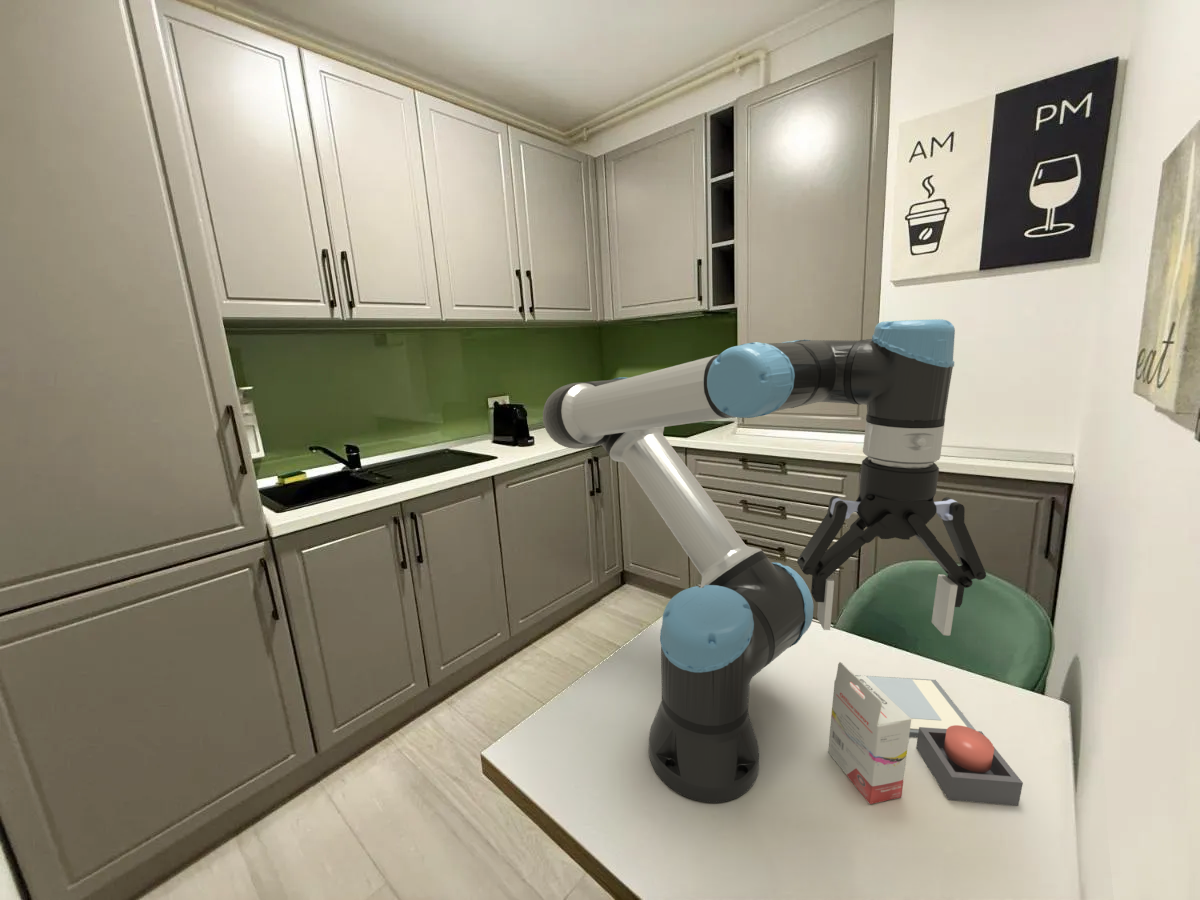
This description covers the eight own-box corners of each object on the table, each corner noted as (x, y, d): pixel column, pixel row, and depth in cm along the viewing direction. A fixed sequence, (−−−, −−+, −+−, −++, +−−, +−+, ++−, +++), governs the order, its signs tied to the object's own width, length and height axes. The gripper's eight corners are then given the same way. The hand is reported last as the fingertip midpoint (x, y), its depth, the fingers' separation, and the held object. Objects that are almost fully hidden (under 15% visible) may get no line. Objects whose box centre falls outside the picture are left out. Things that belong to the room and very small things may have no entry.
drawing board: (869, 733, 72) (869, 727, 71) (840, 678, 83) (840, 672, 83) (980, 741, 70) (981, 735, 69) (935, 683, 81) (935, 678, 81)
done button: (957, 771, 62) (960, 754, 61) (936, 739, 67) (938, 723, 66) (1000, 774, 61) (1003, 757, 61) (975, 742, 66) (978, 726, 65)
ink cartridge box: (904, 798, 62) (917, 698, 58) (869, 806, 61) (881, 705, 57) (857, 744, 70) (867, 654, 66) (826, 750, 69) (834, 659, 66)
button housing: (948, 799, 61) (951, 777, 60) (916, 747, 69) (919, 727, 68) (1018, 806, 60) (1023, 782, 59) (977, 752, 68) (981, 731, 67)
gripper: (794, 467, 53) (783, 639, 58) (1046, 468, 50) (1013, 650, 55) (778, 452, 61) (770, 605, 65) (997, 452, 57) (972, 613, 62)
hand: (881, 626), depth 60 cm, fingers open, 13 cm apart
